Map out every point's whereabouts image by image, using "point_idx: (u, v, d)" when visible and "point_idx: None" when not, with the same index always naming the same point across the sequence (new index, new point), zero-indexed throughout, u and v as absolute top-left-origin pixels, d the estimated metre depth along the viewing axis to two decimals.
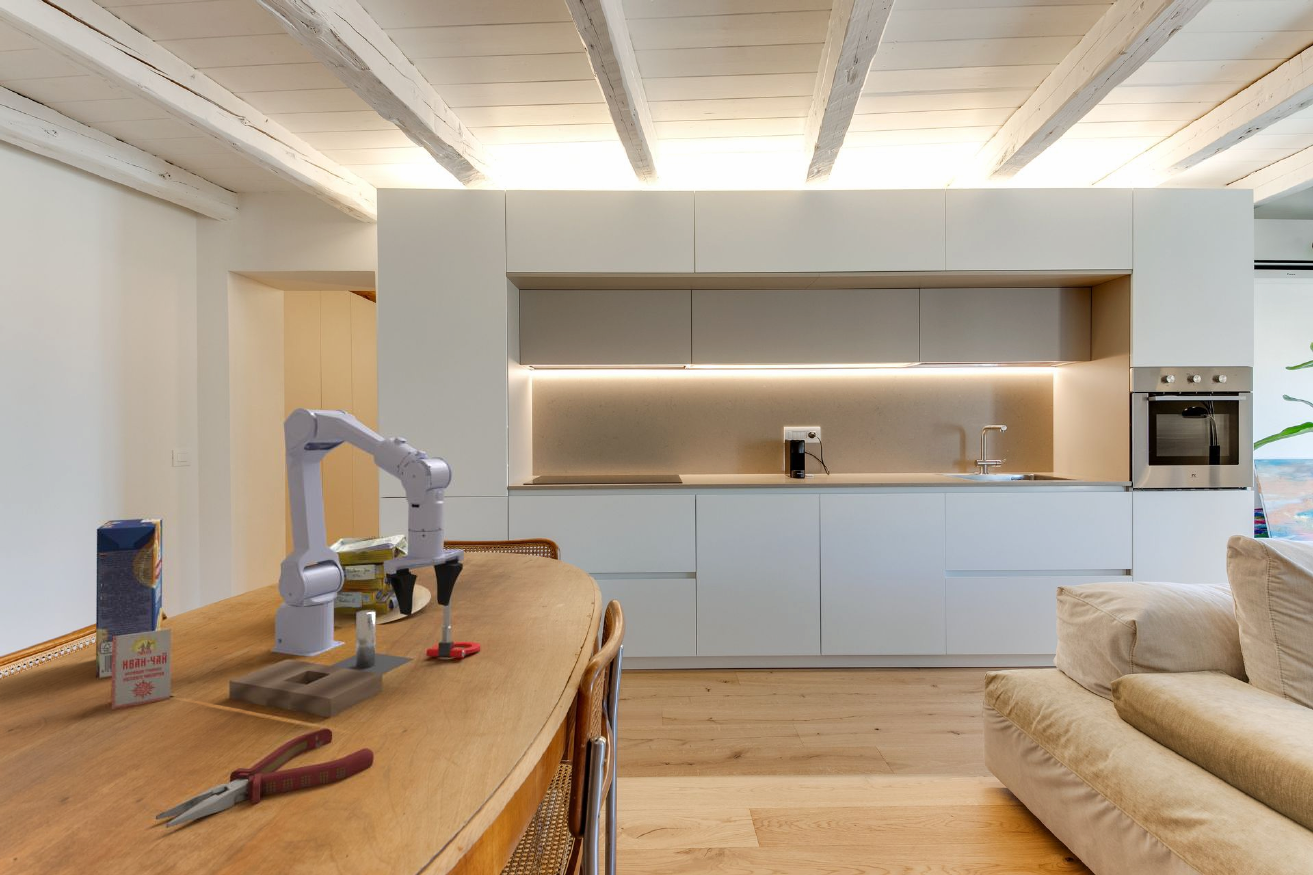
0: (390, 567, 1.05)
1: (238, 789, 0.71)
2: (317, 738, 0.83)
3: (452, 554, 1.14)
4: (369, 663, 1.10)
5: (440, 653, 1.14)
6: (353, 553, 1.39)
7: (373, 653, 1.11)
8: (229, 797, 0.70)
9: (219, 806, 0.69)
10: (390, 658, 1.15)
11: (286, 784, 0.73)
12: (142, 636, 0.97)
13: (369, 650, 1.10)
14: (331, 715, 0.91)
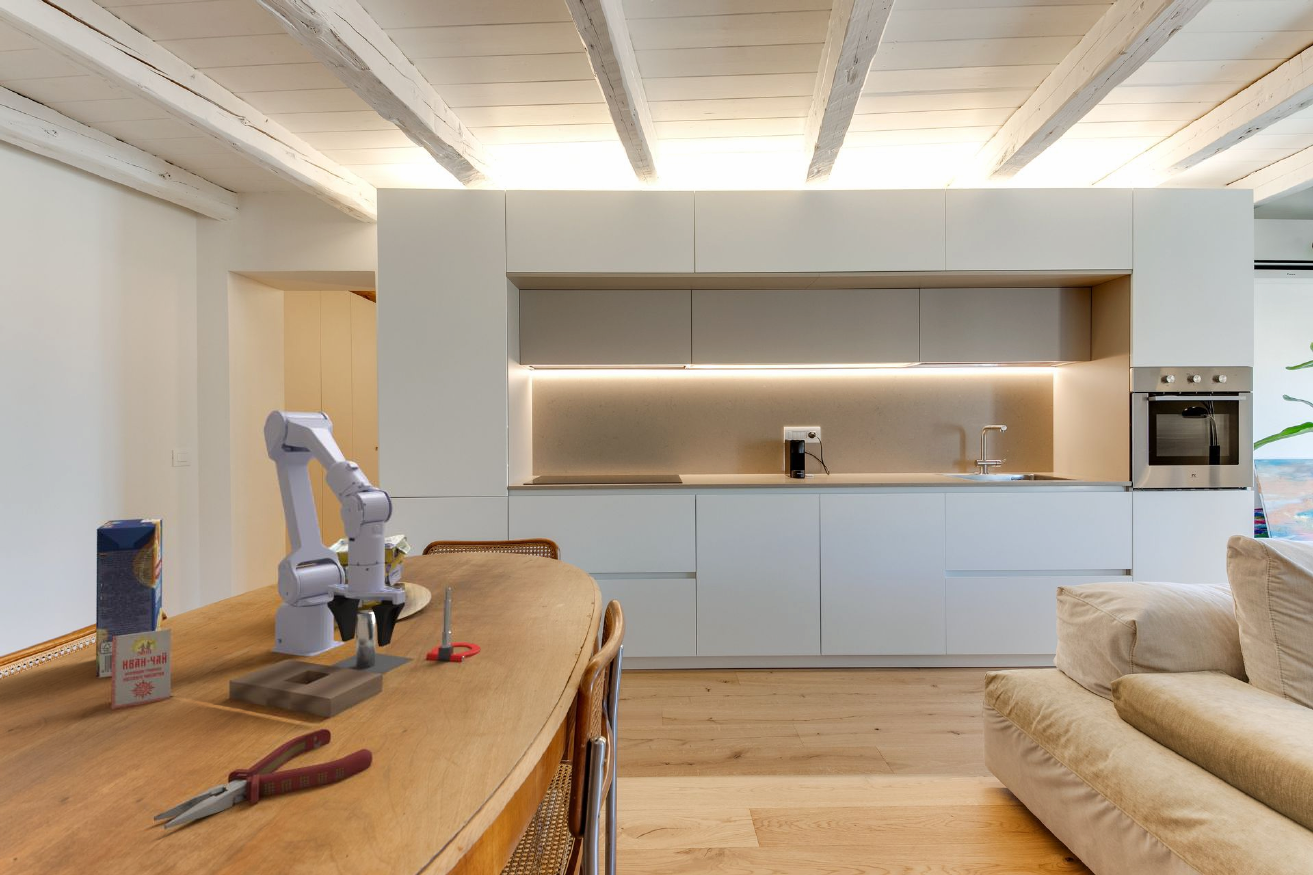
0: None
1: (236, 790, 0.71)
2: (315, 739, 0.83)
3: (379, 594, 1.08)
4: (369, 663, 1.10)
5: (440, 658, 1.14)
6: None
7: (373, 653, 1.11)
8: (227, 798, 0.70)
9: (217, 807, 0.69)
10: (390, 658, 1.15)
11: (284, 785, 0.73)
12: (142, 636, 0.97)
13: (369, 650, 1.10)
14: (331, 715, 0.91)
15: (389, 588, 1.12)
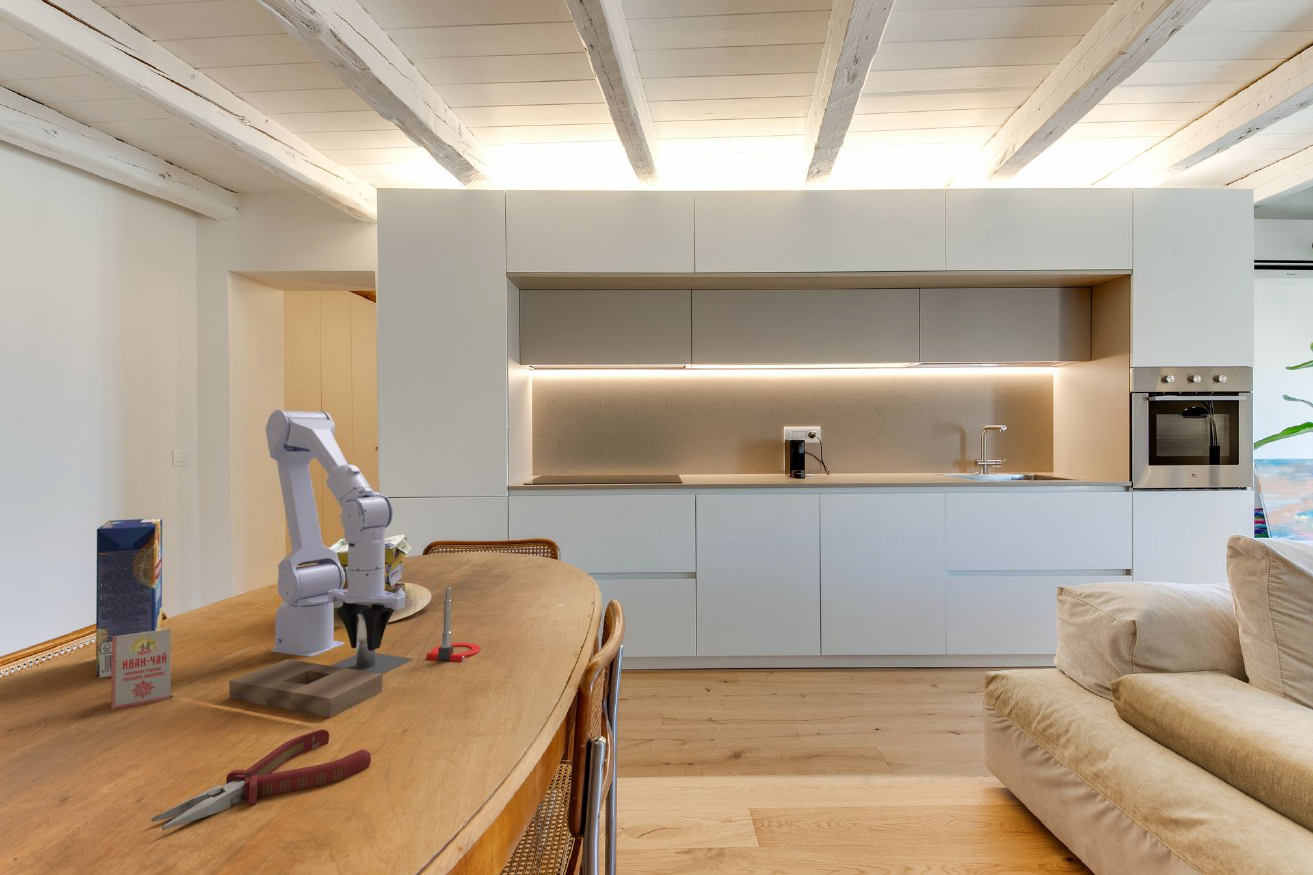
0: None
1: (234, 791, 0.70)
2: (313, 739, 0.83)
3: (379, 599, 1.08)
4: (369, 663, 1.10)
5: (440, 658, 1.14)
6: None
7: (373, 653, 1.11)
8: (225, 799, 0.70)
9: (215, 808, 0.69)
10: (390, 658, 1.15)
11: (283, 786, 0.73)
12: (142, 636, 0.97)
13: None
14: (331, 715, 0.91)
15: (389, 593, 1.12)
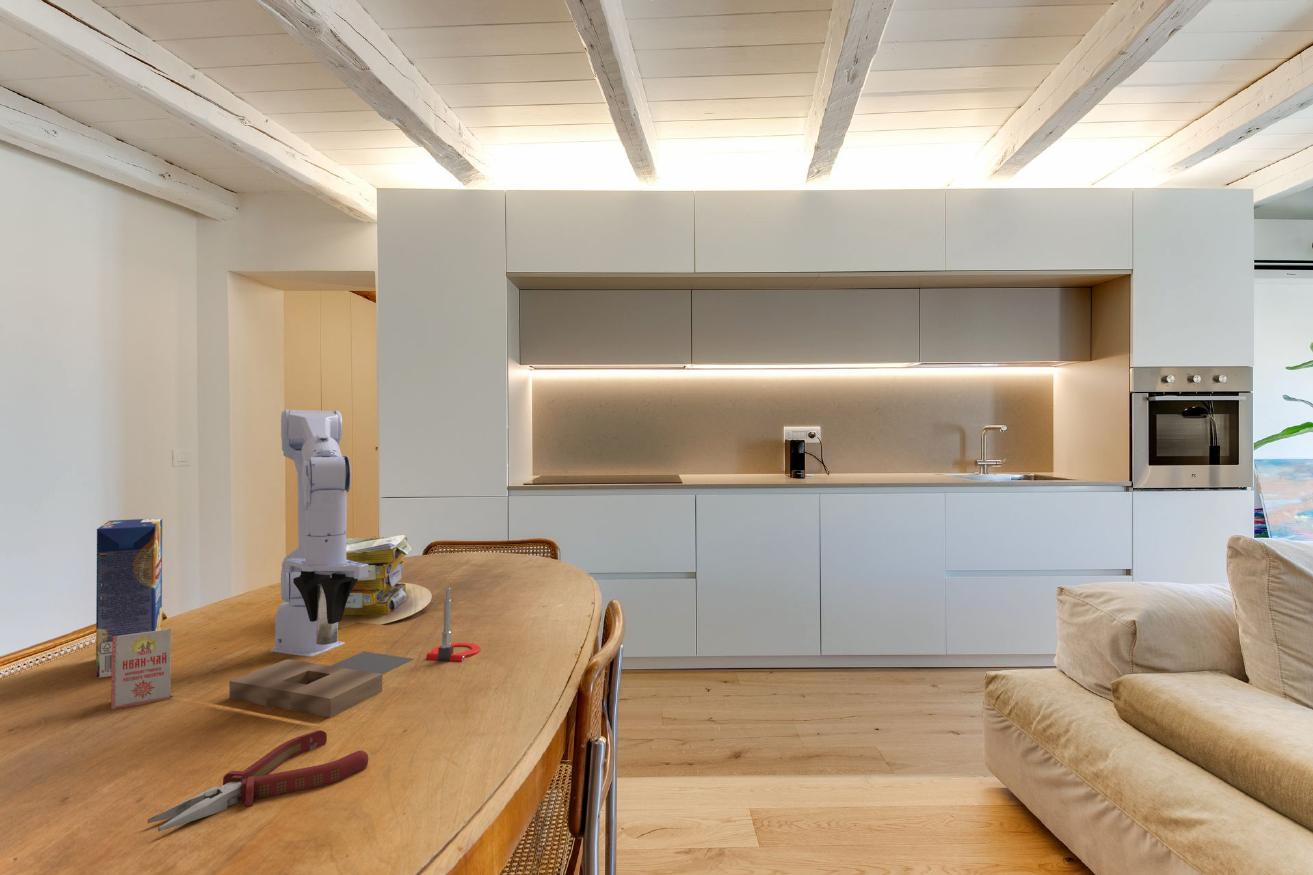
0: None
1: (231, 792, 0.70)
2: (311, 740, 0.83)
3: (339, 567, 0.99)
4: (330, 639, 1.01)
5: (440, 658, 1.14)
6: (353, 553, 1.39)
7: (335, 628, 1.02)
8: (222, 800, 0.69)
9: (211, 810, 0.68)
10: (390, 658, 1.15)
11: (280, 787, 0.72)
12: (142, 636, 0.97)
13: (330, 625, 1.01)
14: (331, 715, 0.91)
15: (351, 562, 1.03)
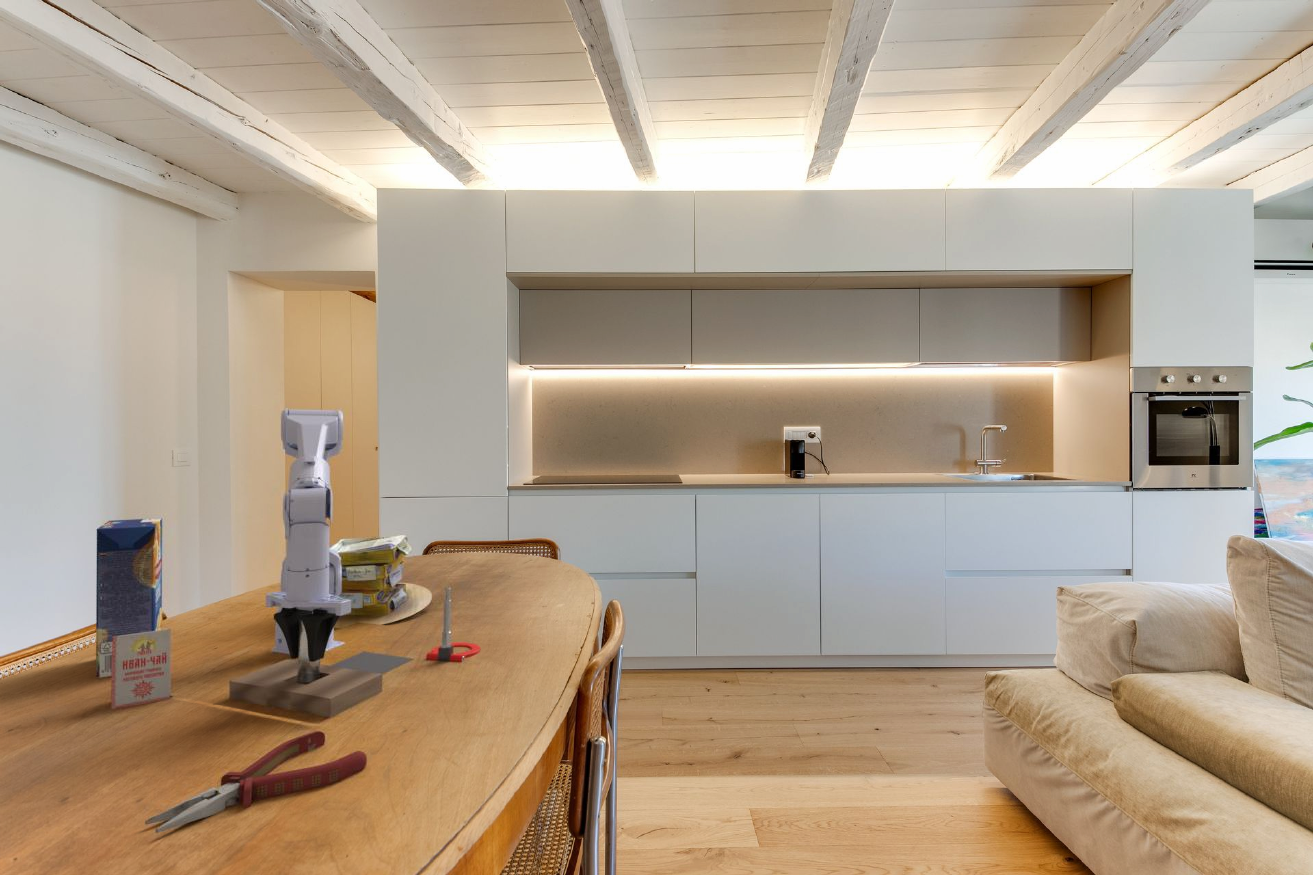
0: None
1: (229, 793, 0.70)
2: (309, 741, 0.83)
3: (320, 603, 0.96)
4: (312, 677, 0.98)
5: (440, 658, 1.14)
6: (353, 553, 1.38)
7: (317, 666, 0.99)
8: (220, 801, 0.69)
9: (209, 811, 0.68)
10: (390, 658, 1.15)
11: (278, 788, 0.72)
12: (142, 636, 0.97)
13: (312, 662, 0.98)
14: (331, 715, 0.91)
15: (334, 597, 0.99)
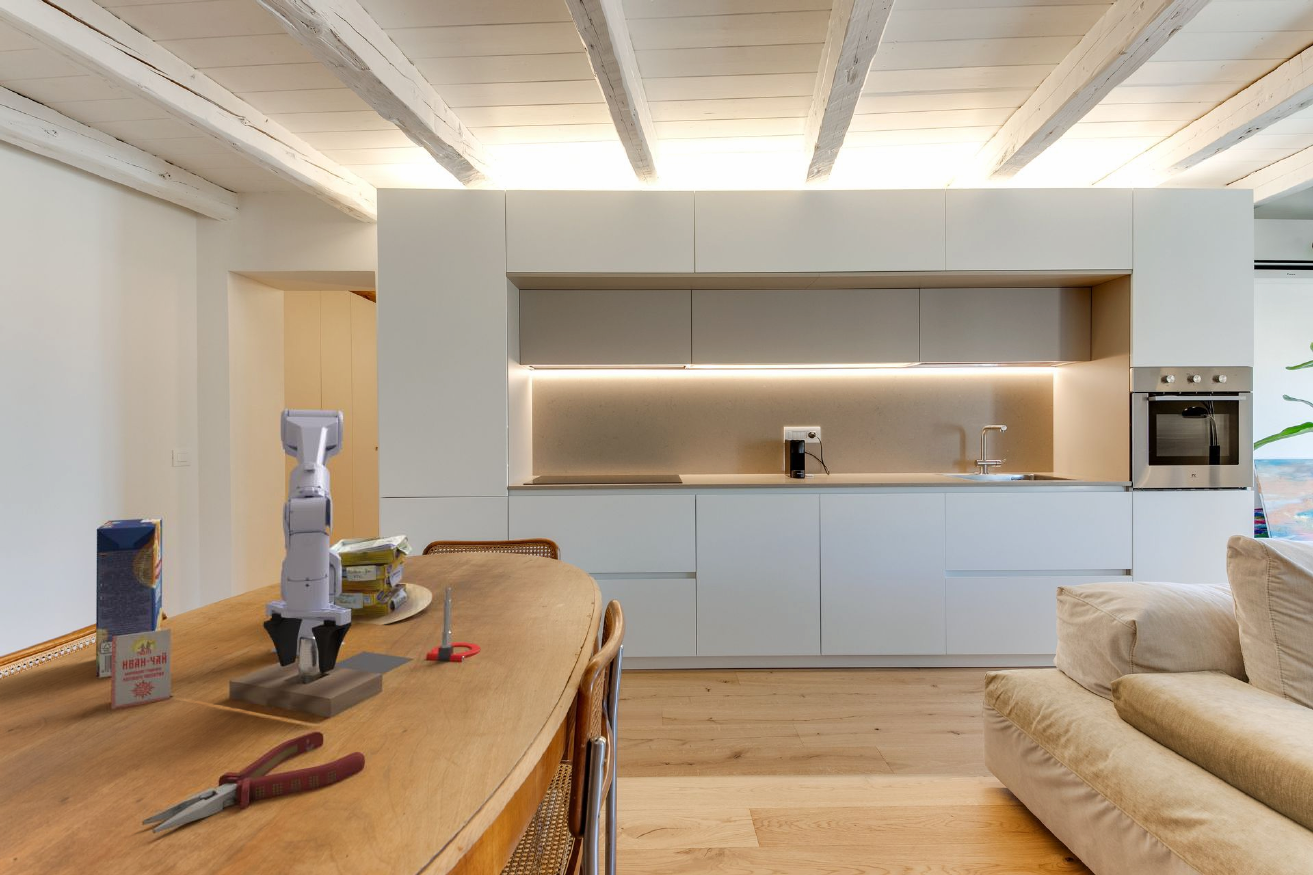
0: None
1: (227, 794, 0.70)
2: (308, 741, 0.82)
3: (320, 613, 0.96)
4: None
5: (440, 658, 1.14)
6: (353, 553, 1.38)
7: None
8: (217, 802, 0.69)
9: (207, 811, 0.68)
10: (390, 658, 1.15)
11: (275, 788, 0.72)
12: (141, 636, 0.97)
13: (312, 680, 0.98)
14: (331, 715, 0.91)
15: (334, 606, 0.99)
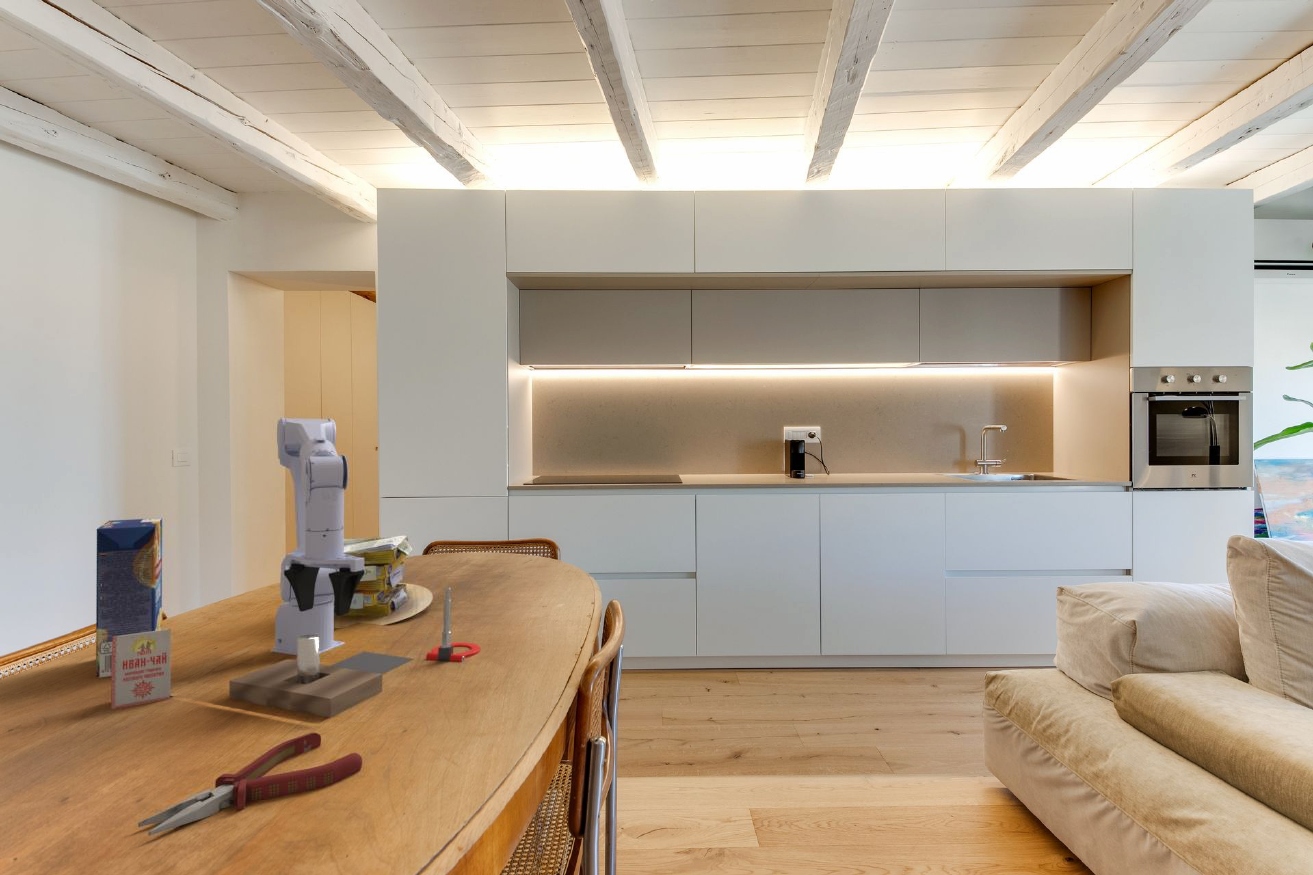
0: None
1: (223, 795, 0.70)
2: (305, 742, 0.82)
3: (336, 561, 1.05)
4: None
5: (440, 658, 1.14)
6: (354, 554, 1.38)
7: None
8: (214, 803, 0.69)
9: (203, 813, 0.68)
10: (390, 658, 1.15)
11: (272, 790, 0.72)
12: (142, 636, 0.97)
13: (311, 680, 0.98)
14: (331, 715, 0.91)
15: (348, 556, 1.09)
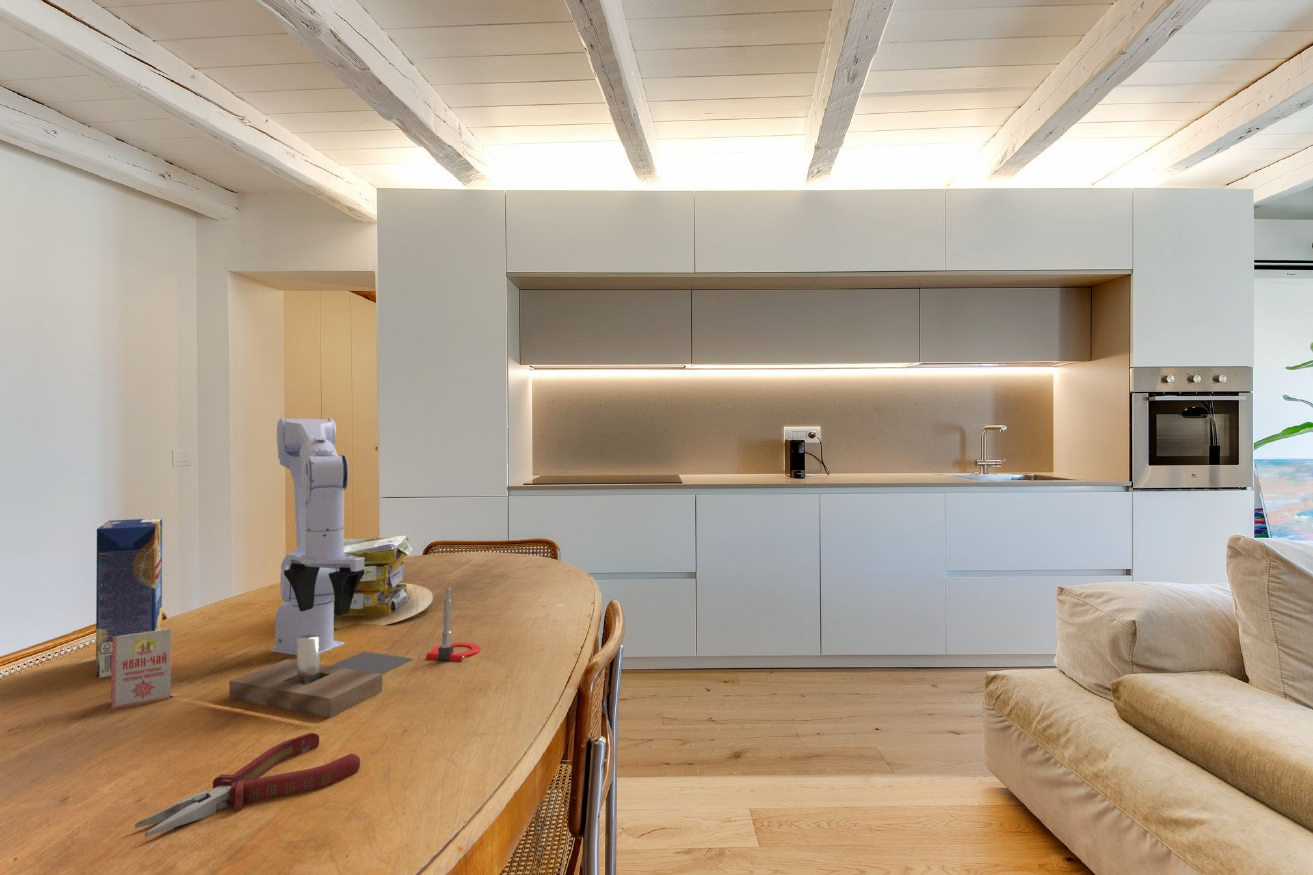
0: None
1: (220, 796, 0.69)
2: (303, 743, 0.82)
3: (336, 560, 1.05)
4: None
5: (440, 658, 1.14)
6: (354, 554, 1.38)
7: None
8: (211, 804, 0.69)
9: (200, 814, 0.68)
10: (390, 658, 1.15)
11: (270, 791, 0.72)
12: (142, 636, 0.97)
13: (311, 680, 0.98)
14: (331, 715, 0.91)
15: (348, 556, 1.09)
